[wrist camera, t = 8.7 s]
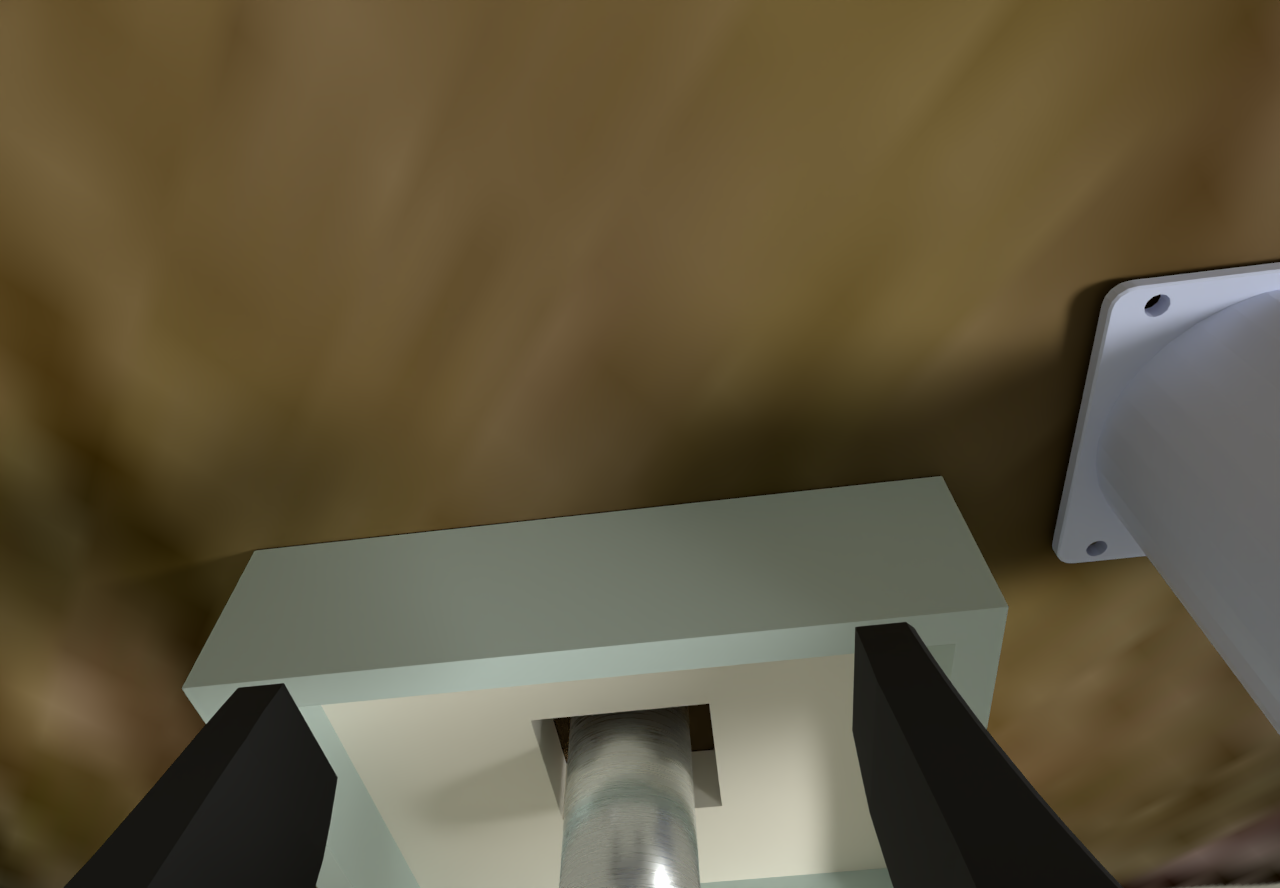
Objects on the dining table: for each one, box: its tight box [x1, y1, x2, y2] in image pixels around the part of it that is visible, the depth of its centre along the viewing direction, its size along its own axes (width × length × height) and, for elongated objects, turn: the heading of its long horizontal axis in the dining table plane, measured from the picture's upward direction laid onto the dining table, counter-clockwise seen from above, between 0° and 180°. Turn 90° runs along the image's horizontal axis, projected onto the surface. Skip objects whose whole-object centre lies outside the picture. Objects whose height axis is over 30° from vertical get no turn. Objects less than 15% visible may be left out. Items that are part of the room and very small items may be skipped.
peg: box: [559, 706, 700, 888], centre depth 23 cm, size 4×4×7 cm
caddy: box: [182, 476, 1008, 888], centre depth 25 cm, size 18×16×4 cm
